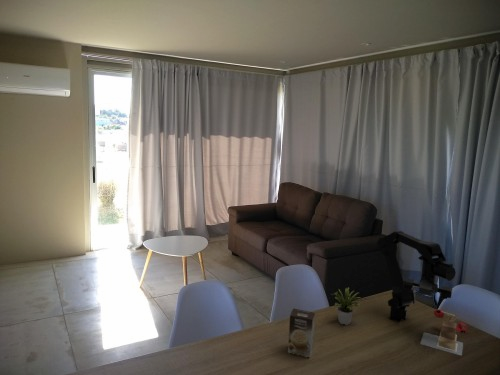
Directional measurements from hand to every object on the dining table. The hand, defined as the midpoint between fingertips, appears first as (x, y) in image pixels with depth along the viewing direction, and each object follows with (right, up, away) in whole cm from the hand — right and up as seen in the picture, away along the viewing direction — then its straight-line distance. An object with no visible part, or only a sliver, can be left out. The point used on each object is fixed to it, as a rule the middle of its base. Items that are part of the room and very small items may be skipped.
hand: (425, 306), depth 165 cm
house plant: (-33, -11, +9) cm, 36 cm away
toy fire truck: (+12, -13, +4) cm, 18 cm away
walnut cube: (+5, -9, -9) cm, 14 cm away
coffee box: (-56, -14, -14) cm, 59 cm away
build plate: (+3, -14, -7) cm, 16 cm away
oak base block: (+5, -13, -8) cm, 16 cm away
